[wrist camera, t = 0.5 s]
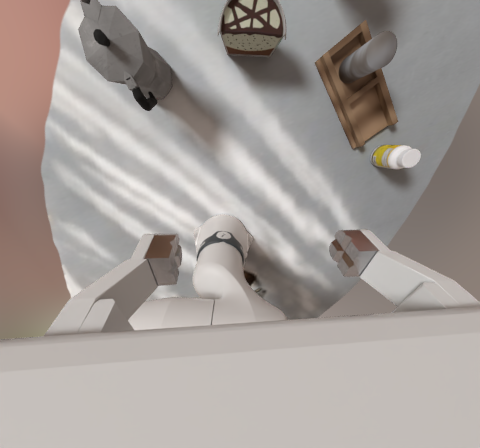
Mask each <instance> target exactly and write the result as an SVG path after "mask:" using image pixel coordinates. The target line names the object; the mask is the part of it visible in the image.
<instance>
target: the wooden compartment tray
mask: <svg viewBox="0 0 480 448" xmlns="http://www.w3.org/2000/svg"><path fill="white" fill-rule="evenodd" d="M396 50H397V39H396V36H395V35H394V34H393V33H392V32H390V31H383V32H381V33H379V34H378V35H376V36H375V37H374V38H372V37H371V34H370V31H369V28H368V25H367V22H366V20H365V21H364V22H363V23H361V24H360V25H359V26H358V27H357V28H355V29H354V30H353V31H352V32H351V33H349V34H348V35H347V36H346V37H344V38H343V39H342V40H341V41H340V42H338V43H337V44H336V45H335V46H334V47H332V48H331V49H330V50H329V51H328V52H326V53H325V54H324V55H323V56H322V57H321V58H320V59H319V60H317V61H316V62H315V65H316V67H317V69H318V72H319V74H320V76H321V78H322V81H323V83H324V85H325V88H326V90H327V92H328V95H329V97H330V99H331V101H332V104H333V106H334V108H335V111H336V113H337V115H338V117H339V120H340V122H341V124H342V127H343V129H344V131H345V134H346V136H347V138H348V140H349V143H350V145H351V147H352V149H354V148H355V147H361V146H363V145H364V144H365V142H364V141H366V140H367V139H369V138H370V137H372V136H373V135H375V134H376V133H378V132H379V131H381V130H382V129H384V128H385V127H387V126H389V125H394V124H396V123H397V122H398V120H397V116H396V113H395V110H394V107H393V104H392V101H391V97H390V94H389V91H388V88H387V85H386V82H385V79H384V75H383V72H382V69H381V68H382V67H384V66H386V65H387V64H389V63H390V61H391V60H392V59H393V57H394V55H395V53H396Z"/></svg>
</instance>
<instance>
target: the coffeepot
mask: <svg viewBox="0 0 480 448" xmlns="http://www.w3.org/2000/svg"><path fill="white" fill-rule="evenodd" d="M80 2H81V5H82V9H83V12H84V16H85V17H84V19H83V21H82V23H81V25H80V27H79V29H78V30H79V34H80V38H81V41H82V45H83V49H84V52H85V56H86V60H87V61H88V62H89V63H90V64H91V65H92V66H93V67H94V68H95V69H96V70H97V71H98V72H99V73H100V74H101V75H102V76H103V77H104V78H105V79H106V80H107V81H110V82H116V83H121V84H126V85H127V86H128V88H129V90H131V91H132V92H133V96H134V98H135V99H136V101H137V102H138V103H139V104H140V106H141V107H142V108H143V109H145V110H147V111H150V110H151V109H152V108H153V107H154V106H155V105H156V104H157V100H156V99H164V97H165V96H166V95H167V94H168V92H169V90H170V89H171V87H172V77H171V71H170V66H169V65H168V64H167V63H166V62H165V60H164V59H163V58H162V57H161V56H160V55H159V54H158V53H157V52H156V51H155V50H153V49H151V48H149V47H148V46H147V45H146V43H145V41H144V40H143V38H142V36H141V34H140V33H139V31H138V30H137V29H136V28H135V26H134V25H133V24H132V23H131V22H130V21H129V20H128V19H127V18H126V16H125V15H124V14H123V13H122V12H121V11H120V10H119V9H118V8H117V7H116V6H102V5H101V4H100V3H99V2H98V0H81V1H80ZM146 98H147V99H146Z"/></svg>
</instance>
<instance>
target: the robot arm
mask: <svg viewBox="0 0 480 448" xmlns="http://www.w3.org/2000/svg"><path fill="white" fill-rule="evenodd" d="M197 235H198V236H197ZM194 239H195V245H196V251H197V263H196V267H195V270H194V273H193V278H192V280H193V286H194V288H195V290H196V292H197V294H198V295H199V296H200V298H202V299H199V298H184V297H171V298H162V299H156V300H149V301H146V299H147V298H148V297H149V296H150V295H151V294H152V293H153V292H154V290H155V289H156V288H157V287H158V286H161V285H174V284H177V280H178V275H179V270H178V267H179V266H180V265H181V261H182V250H181V246H180V245H178V244H179V236H178V234H144V235H143V236H142V238H141V240H140V241H139V243H138V245H137V247H136V249H135V251H134V253H133V255H132V257H131V259H130V260H126V261H124V262H123V263H121V264H120V265H119V266H117V267H116V268H114V269H113V270H111V271H110V272H108V273H107V274H106V275H104V276H103V277H101V278H100V279H98V280H97V281H95V282H94V283H93V284H91V285H90V286H88V287H87V288H85V289H84V290H83V291H81V292H80V293H78V294H77V295H75V296H74V297H72V298H71V299H70V300H69V301H68V302H67V304H66V305H65V306H64V308H63V309H62V311H61V312H60V313H59V315H58V316H57V318H56V319H55V321H54V322H53V323H52V325H51V326H50V328H49V329H48V331H47V332H46V333H45V335H44V336H43V337H29V338H15V339H0V448H480V302H479V301H478V300H476V299H475V298H474V297H473V296H471V295H470V294H469V293H468V292H467V291H466V290H464V289H463V288H462V287H461V286H460V285H459V284H457V283H456V282H455V281H454V280H452V279H450V278H448V277H446V276H444V275H442V274H440V273H438V272H436V271H434V270H432V269H429V268H428V267H425V266H423V265H421V264H419V263H417V262H415V261H413V260H411V259H409V258H407V257H405V256H403V255H401V254H399V253H397V252H395V251H390V250H389V249H388V248H387V247H386V246H385V245H384V244H383V243H382V242H381V241H380V240H379V239H378V238H377V237H376V236H375V235H374V234H373V233H372V232H371V231H370V230H367V229H359V230H338V231H337V232H336V234H335V240H334V241H333V242H331V245H330V247H329V251H330V255H331V257H332V259H333V260H335V261H336V262H338V265H337V267H338V268H339V270H340V271H341V273H342V274H343V276H344V277H348V276H360V278H361V279H363V280H364V281H365V282H367V283H368V284H369V285H370V286H372V287H373V288H374V289H376V290H377V291H378V292H379V293H381V294H382V295H383V296H384V297H386V298H387V299H388V300H390V301H391V302H392V303H394V304H395V305H396V306H397V307H396V308H395V309H394V310H393V311H392V313H383V314H368V315H353V316H338V317H324V318H309V319H294V320H288V319H287V317H286V316H285V314H284V313H283V312H282V311H281V310H280V309H279V308H277V307H275V306H273V305H271V304H270V303H268V302H266V301H265V300H264V299H262V298H261V297H260V296H259V295H258V294H257V293H256V292H255V291H254V290H253V289H252V288H251V287H250V286H249V284H248V283H247V281H246V279H245V277H244V272H243V267H244V266H245V260H244V259H245V258H247V255H248V254H247V252H248V250H249V248H250V245H251V243H252V241H253V237H252V235H251V234H250V233H248V232H247V231H246V229H245V227H244V225H243V224H242V223H241V221H239V220H238V219H237V218H235V217H233V216H230V215H225V214H221V215H216V216H213V217H211V218H209V219H208V220H207V221H206V222H205V223H204V224H203V225H202V226H200V227H198V228H196V229H195V230H194ZM248 241H249V242H248Z"/></svg>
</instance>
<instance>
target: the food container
mask: <svg viewBox="0 0 480 448" xmlns="http://www.w3.org/2000/svg"><path fill="white" fill-rule="evenodd" d="M219 32H220V34H221V37H222V40H223V43H224V46H225V49H226V52H227V55H240V56H259V57H270V56H271V55H272V53H273V52H274V50H275V49H276V47H277V46H278V45H279V43H280V42H281V40H282V39H283V37H284V36H285V40H286V20H285V15H284V12H283V9H282V6H281V4H280V2H279V0H227V2H226V3H225V5H224V7H223V10H222V12H221V16H220V20H219V25H218V35H219Z"/></svg>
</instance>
